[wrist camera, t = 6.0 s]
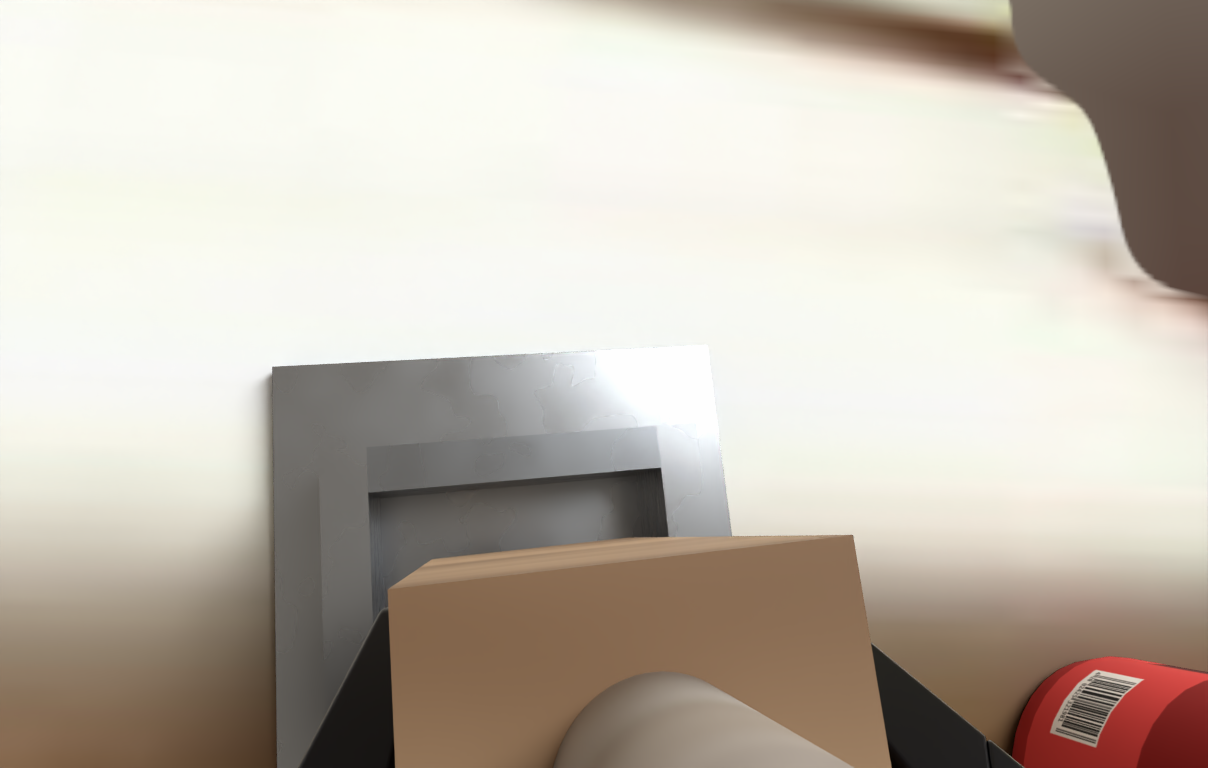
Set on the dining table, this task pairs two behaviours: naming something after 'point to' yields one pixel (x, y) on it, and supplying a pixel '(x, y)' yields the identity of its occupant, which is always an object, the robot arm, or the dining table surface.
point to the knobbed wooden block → (638, 657)
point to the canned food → (1116, 717)
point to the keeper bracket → (467, 482)
